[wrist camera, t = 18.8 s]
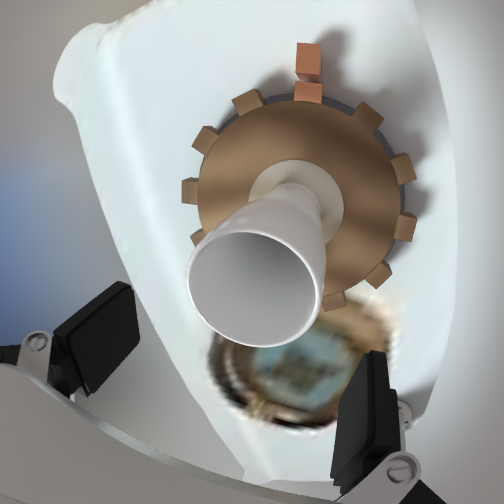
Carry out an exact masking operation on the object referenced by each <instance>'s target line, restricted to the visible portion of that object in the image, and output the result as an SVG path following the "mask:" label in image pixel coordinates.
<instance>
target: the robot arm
mask: <svg viewBox="0 0 504 504" xmlns="http://www.w3.org/2000/svg"><path fill="white" fill-rule="evenodd" d="M53 334H54V336H53V337H51V335H50V334H49V333H48V332H45V331H40V330H39V331H34V332H31V333H29V334H28V335H27V336H26V337H25V338H24V339H23V342H22V344H21V345H11V346H0V504H446V503H445V502H444V501H443V500H442V499H441V498H440V497H439V496H437V495H436V494H435V493H434V492H433V491H432V490H431V489H430V488H428V487H427V486H426V485H425V484H424V483H423V482H422V481H421V480H420V479H419V477H420V474H421V466H420V463H419V461H418V459H417V458H416V457H415V456H414V455H412V454H410V453H408V452H406V444H405V428H406V427H407V426H408V425H409V423H410V422H411V419H412V410H411V408H410V407H409V406H408V405H407V404H406V403H404V402H402V401H398V399H397V393H396V390H395V389H390V384H389V375H388V366H387V358H386V353H385V352H379V351H374V350H371V351H370V352H369V353H364V355H363V356H362V359H361V361H360V363H359V365H358V367H357V368H356V370H355V372H354V374H353V376H352V378H351V380H350V382H349V384H348V386H347V387H346V389H345V391H344V393H343V395H342V397H341V399H340V402H339V409H338V419H337V429H336V437H335V445H334V452H333V460H332V466H331V473H330V478H332V479H334V483H333V485H334V486H341V487H340V493H341V494H342V495H341V496H339V497H338V498H337V499H336V500H334V501H330V500H324V499H319V498H313V497H308V496H303V495H297V494H292V493H287V492H283V491H278V490H273V489H269V488H265V487H261V486H257V485H253V484H250V483H246V482H242V481H239V480H236V479H232V478H229V477H225V476H223V475H220V474H216V473H214V472H211V471H208V470H205V469H202V468H200V467H197V466H194V465H192V464H189V463H187V462H184V461H182V460H179V459H177V458H175V457H172V456H170V455H168V454H165V453H163V452H160V451H159V450H157V449H154V448H152V447H150V446H148V445H146V444H144V443H142V442H140V441H138V440H136V439H134V438H132V437H130V436H129V435H127V434H125V433H123V432H121V431H119V430H118V429H116V428H114V427H112V426H111V425H109V424H107V423H106V422H104V421H102V420H100V419H99V418H97V417H95V416H94V415H92V414H91V413H89V412H88V411H86V410H85V409H83V408H82V407H80V406H79V405H77V404H76V403H74V392H75V391H76V390H78V392H79V393H81V394H82V395H84V396H85V397H88V396H89V395H90V394H91V393H95V392H96V391H97V390H98V388H99V387H100V386H101V385H102V384H103V383H104V382H105V380H106V379H107V378H108V377H109V376H110V375H111V374H112V373H113V372H114V370H115V369H116V368H117V367H118V366H119V365H120V364H121V362H122V361H123V360H124V359H125V358H126V357H127V356H128V355H129V354H130V353H131V351H132V350H133V349H134V348H135V347H136V346H137V345H138V343H139V341H140V333H139V327H138V320H137V313H136V304H135V296H134V291H133V290H132V288H131V286H130V285H129V284H126V283H124V282H121V281H117V282H115V283H114V284H113V285H111V286H110V287H109V288H107V289H106V290H105V291H103V292H102V293H101V294H99V295H98V296H97V297H96V298H94V299H93V300H92V301H90V302H89V303H88V304H86V305H85V306H84V307H83V308H81V309H80V310H79V311H78V312H76V313H75V314H74V315H73V316H71V317H70V318H69V319H68V320H66V321H65V322H64V323H63V324H61V325H60V326H59V327H58V328H56V329H55V330H54V331H53Z"/></svg>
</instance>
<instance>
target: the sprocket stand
mask: <svg viewBox="0 0 504 504" xmlns="http://www.w3.org/2000/svg"><path fill="white" fill-rule="evenodd" d="M321 64H322V53H321V46H320V45H319V44H308V43H297V55H296V71H295V73H296V74H297V76H298V78H299V79H300V81H311V82H320V80H321ZM292 100H293V101H294V94H283V95H277V96H272V97H269V98H266V99H264V101H265V103H266V105H267V104H271V103H275V102H281V101H292ZM322 104H323V105H326V106H329V107H332V108H335V109H337V110H339V111H341V112H343V113H345V114H347V115H349V116H351V115H352V114H353V112H354V111H355V110H354V109H352V108H350V107H349V106H347V105H345V104H342V103H340V102H338V101H336V100H333V99H330V98H326V97H322ZM239 117H240V116H239V114H238V113H236V114H235V115H234V116H233V117H232V118H231V119H229V120H228V121H227V122H226V123H225V124H224V125H223V126H222V128H221V129H220V130H219V131H220V132H221V133H222V132H223V130H224V129H225V128H226V127H227V126H228V125H230V124H231V123H232V122H233V121H235V120H236V119H237V118H239ZM373 135H374V137H375V138H376V139H377V140H378V141H379V143H380V144H381V145H382V147H383V148H384V150H385V152H386V153H387V155H388V157H392V156H395V155H394V153H393V151H392V149H391V147H390V145H389V144H388V142H387V141H386V139H385V138H384V136H383V135H382V134H381V133H380V132H379V130H378V129H376V130H375V131H374V132H373ZM205 157H206V156H205V155H204V158H203V162H204V159H205ZM203 162H202V165H203ZM202 165H201V167H202ZM200 171H201V168H200ZM199 175H200V174H199ZM399 190H400V200H401V202H400V211H404V204H405V196H404V184H401V185H399ZM395 240H396V239H394V240H393V242H392V244H391V247H392V246H393V244H394V242H395ZM391 247H390V249H391ZM390 249H389V251H390ZM389 251H388V252H387V254H388V253H389ZM387 254H386V255H387ZM386 255H385V257H386ZM385 257H384V258H385ZM384 258H383V259H384Z"/></svg>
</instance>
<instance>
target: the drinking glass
mask: <svg viewBox="0 0 504 504" xmlns="http://www.w3.org/2000/svg"><path fill="white" fill-rule="evenodd" d="M325 278H326V248H325V241H324V234H323V228H322V222H321V207H320V203H319V200H318V198H317V197H316V195H315V194H314V193H313V192H312V191H311V190H310V189H309V188H307V187H306V186H304V185H301V184H298V183H284V184H281V185H278V186H276V187H275V188H273V189H272V190H271V191H270V192H268V193H266V194H264V195H262V196H261V197H259V198H257V199H255V200H253V201H251V202H249V203H247V204H245V205H243V206H242V207H240V208H238V209H237V210H235V211H234V212H232V213H231V214H229V215H228V216H227V217H226V218H224V219H223V220H222V221H221V222H220V223H219V224H217V225H216V226H215V227H214V228H213V229H212V230H211V231H210V232H209V233H208V234H207V236H206V237H205V238H204V239H203V240H202V241H201V242H200V243H199V244H198V245H197V246H196V248H195V249H194V251H193V252H192V254H191V256H190V259H189V261H188V265H187V270H186V285H187V290H188V294H189V297H190V300H191V302H192V304H193V306H194V308H195V309H196V311H197V312H198V314H199V315H200V317H201V318H202V319H203V320H204V321H205V322H206V323H207V324H208V325H209V326H210V327H211V328H212V329H214V330H215V331H216V332H218V333H219V334H221V335H222V336H224V337H226V338H228V339H230V340H232V341H234V342H237V343H240V344H243V345H247V346H253V347H274V346H279V345H283V344H286V343H289V342H291V341H293V340H295V339H297V338H298V337H300V336H301V335H303V334H304V333H305V332H306V331H307V330H308V329H309V328H310V327H311V326H312V324H313V323H314V321H315V320H316V318H317V316H318V313H319V311H320V307H321V303H322V297H323V292H324V286H325Z"/></svg>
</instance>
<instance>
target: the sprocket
mask: <svg viewBox="0 0 504 504" xmlns="http://www.w3.org/2000/svg"><path fill="white" fill-rule="evenodd" d="M322 96H323V84H318V83H310V82H300V81H295V92H294V101H293V100H292V101H281V102H275V103H271V104H267V105H266V103H265V101H264V99H263V97H262V95H261V93H260V91H258V90H256V89H252V90H250V91H248V92H246V93H244V94H242V95H240V96H238V97H236V98H234V99H232V102H233V104H234V106H235V108H236V110H237V112H238V114H239V116H240V117H239V118H237V119H236V120H235V121H233V122H232V123H231V124H230V125H228V126H227V127H226V128H225V129H224V130H223V132H222V133H221V132H220V131H218V130H217V129H215V128H214V127H212V126H203V127H202V129H201V131H200V132H199V134H198V136H197V137H196V139H195V141H194V142H193V144H192V147H193V148H195V149H196V150H198V151H199V152H200V153H202V154H203V155H205V156H206V157H205V159H204V162H203V165H202V167H201V171H200V175H199V178H191V177H190V178H188V179H185V180H182V203H186V204H193V205H198V211H199V217H200V221H201V224H202V229H200V230H197V231H196V232H195V233H194V234H192V235H191V236H190V238H191V240H192V242H193V244H194V246H195V247H196V246H197V245H198V244H199V243H200V242H201V241H202V240H203V239H204V238H205V237H206V236H207V234H208V233H209V232H210V231H211V230H212V229H213V228H214V227H215V226H216V225H217V224H219V223H220V222H221V221H222V220H223V219H224V218H226V217H227V216H228V215H229V214H231V213H232V212H234V211H235V210H237V209H238V208H240V207H242V206H243V205H245V204H247V203H249V202H251V201H253V200H255V199H257V198H259V197H261V196H262V195H264V194H266V193H268V192H270V191H271V190H272V189H273V188H275V187H276V186H278V185H281V184H284V183H298V184H301V185H304V186H306V187H307V188H309V189H310V190H311V191H312V192H313V193H314V194H315V195H316V197H317V198H318V200H319V203H320V207H321V222H322V228H323V234H324V241H325V248H326V278H325V286H324V292H323V297H322V306H323V308H324V311H325V312H327V311H330V310H334V309H338V308H342V307H345V306H346V296H345V293H344V291H345V290H347V289H349V288H351V287H353V286H354V285H356V284H357V283H359V282H360V281H362V280H363V279H365V280H366V281H367V282H368V283H369V284H371V285H372V286H373V287H374V288H375V289H377V288H378V287H379V286H381V285H382V284H383V283H384V282H385V281H386V280H387V279H388V278H389V277H390V276H391V275H392V271H391V268H390V265H389V264H388V263H386V262H385V261H384V260H383V258H384V257H385V255H386V254H387V252H388V251H389V249H390V247H391V244H392V242H393V240H394V239H398V240H402V241H407V242H412V238H413V234H414V231H415V227H416V223H417V218H416V217H415V216H414V215H413V214H412V213H409V212H405V211H400V202H401V200H400V190H399V185H401V184H404V183H407V182H410V181H413V180H416V176H415V173H414V170H413V166H412V163H411V160H410V157H409V154H406V153H401V154H398V155H395V156H392V157H388V155H387V153H386V152H385V150H384V148H383V147H382V145H381V144H380V143H379V141H378V140H377V139H376V138H375V137H374V135H373V132H374V131H375V130H376V129H377V127H378V126H379V125H380V124H381V122H382V121H383V120H384V118H383V117H382V116H381V115H379V114H378V113H377V112H376V111H375V110H373V109H372V108H371V107H370V106H368V105H367V104H366V103H365V102H362V103H361V104H360V105H359V106H358V107H357V109H356V110H355V111H354V112H353V114H352V115H351V116H349V115H347V114H345V113H343V112H341V111H339V110H337V109H335V108H332V107H329V106H326V105H323V104H322Z"/></svg>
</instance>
